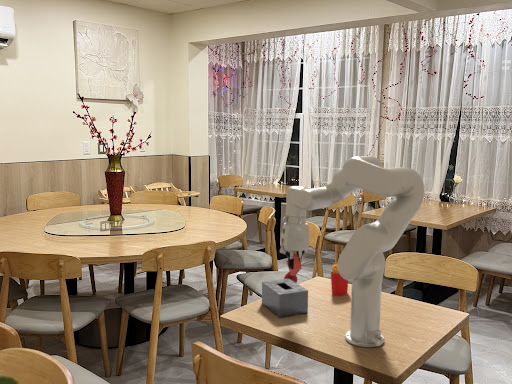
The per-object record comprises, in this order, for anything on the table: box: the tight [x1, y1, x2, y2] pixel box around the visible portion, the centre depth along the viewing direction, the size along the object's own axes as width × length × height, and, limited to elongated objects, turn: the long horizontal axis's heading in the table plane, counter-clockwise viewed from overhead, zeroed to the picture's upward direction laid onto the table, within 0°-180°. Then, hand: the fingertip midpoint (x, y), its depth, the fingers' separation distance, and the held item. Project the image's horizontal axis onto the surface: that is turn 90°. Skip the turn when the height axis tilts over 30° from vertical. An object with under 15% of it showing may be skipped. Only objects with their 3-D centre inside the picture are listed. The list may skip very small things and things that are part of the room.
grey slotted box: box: [261, 278, 309, 319], centre depth 192 cm, size 16×12×9 cm
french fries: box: [330, 263, 349, 297], centre depth 210 cm, size 9×4×13 cm, turn 122°
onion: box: [283, 271, 298, 284], centre depth 218 cm, size 6×6×8 cm
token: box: [286, 253, 303, 276], centre depth 185 cm, size 6×2×6 cm
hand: (293, 267), depth 185 cm, fingers closed on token, 1 cm apart
